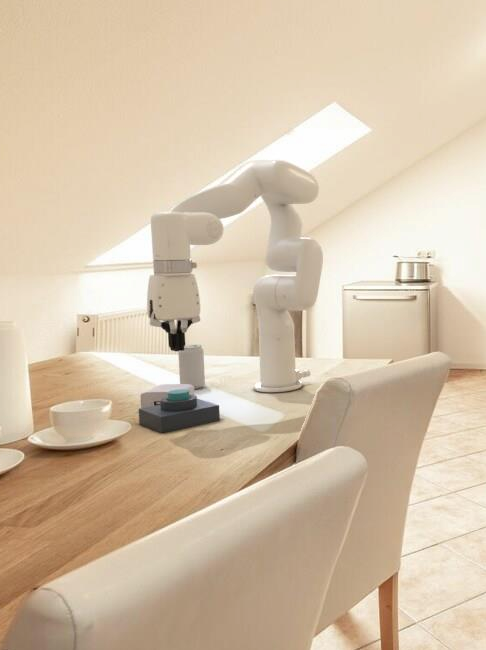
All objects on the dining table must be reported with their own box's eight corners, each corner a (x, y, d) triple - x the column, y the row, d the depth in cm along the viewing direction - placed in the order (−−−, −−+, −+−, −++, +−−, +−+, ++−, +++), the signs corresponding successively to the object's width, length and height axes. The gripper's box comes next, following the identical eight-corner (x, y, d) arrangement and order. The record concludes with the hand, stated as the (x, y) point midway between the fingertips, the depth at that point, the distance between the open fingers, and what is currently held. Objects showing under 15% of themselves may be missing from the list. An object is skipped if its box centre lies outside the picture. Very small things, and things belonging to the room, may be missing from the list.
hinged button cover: (203, 396, 166) (180, 411, 151) (168, 397, 166) (141, 411, 151) (203, 378, 166) (179, 391, 151) (167, 379, 165) (140, 392, 150)
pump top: (183, 396, 145) (183, 388, 144) (193, 399, 142) (192, 391, 142) (164, 400, 141) (164, 391, 141) (173, 403, 138) (173, 394, 138)
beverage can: (209, 387, 178) (208, 345, 177) (188, 391, 172) (186, 348, 171) (196, 384, 181) (194, 343, 180) (175, 388, 176) (173, 346, 175)
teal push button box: (196, 412, 150) (195, 389, 150) (219, 420, 144) (218, 396, 143) (139, 424, 140) (137, 399, 140) (161, 433, 134) (160, 407, 133)
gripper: (197, 266, 147) (201, 344, 149) (129, 269, 135) (134, 353, 137) (213, 267, 142) (217, 347, 144) (145, 270, 131) (150, 357, 132)
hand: (177, 350), depth 141 cm, fingers closed
